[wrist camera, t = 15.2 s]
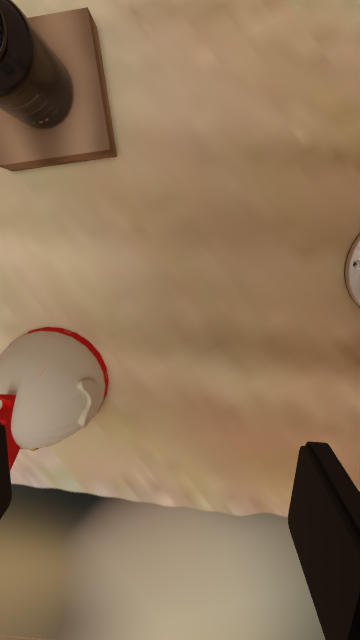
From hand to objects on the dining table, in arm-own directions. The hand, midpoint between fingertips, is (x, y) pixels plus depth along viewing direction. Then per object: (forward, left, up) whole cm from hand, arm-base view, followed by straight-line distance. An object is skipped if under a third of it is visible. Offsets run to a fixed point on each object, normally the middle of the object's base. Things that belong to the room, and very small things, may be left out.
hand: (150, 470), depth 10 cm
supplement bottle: (+15, -20, -28) cm, 37 cm away
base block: (+15, -20, -30) cm, 39 cm away
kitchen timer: (+16, +12, -31) cm, 37 cm away
